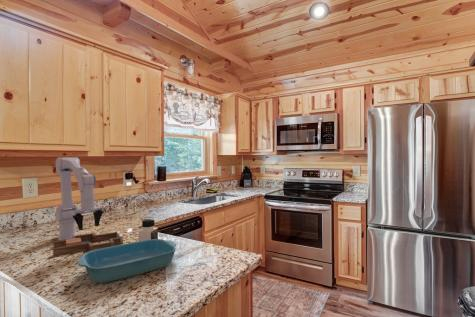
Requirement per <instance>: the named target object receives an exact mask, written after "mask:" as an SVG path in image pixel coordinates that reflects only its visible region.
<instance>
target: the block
mask: <svg viewBox="0 0 475 317" xmlns="http://www.w3.org/2000/svg"><path fill="white" fill-rule="evenodd" d="M76 244H81V238H75V239H69V240H68V239H66V246H70V245H76Z"/></svg>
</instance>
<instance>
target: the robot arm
mask: <svg viewBox="0 0 475 317" xmlns="http://www.w3.org/2000/svg"><path fill="white" fill-rule="evenodd" d="M80 164H81V161H80V158H78V157H77V156H75V157H71V156H70V157H65V156H64V157H60V156H58V157H57V158H56V160H55V172H56V173H57V174H59V178H60V179H59V180H60V195H61V204H60V205H59V206H57V207H56V209H55V214H54V216H55V221H56V222H57V223H59V225H58V227H59V228H58V229H59V230H58V231H59V235H58V241H61V240H68V239H72V236H77V234H76V224H77V228H78V230H79V231H83V230H84V221H83V220H84V215H83V214H89V213H92V214H93V218H94V226H95V227H99V226H100V221H101V219H102V216H103V214H104V210H105V207H104V206H95V201H96V200H95V185H96V183H97V179H96V176H95V174H94V173H90V172H88V171H87V170H86V168H85V167H83V166H82V167H81V165H80ZM72 174H73V176H74V178H75V179H76V180H77V185H78V190H79V191H80V193H79V194H80V209H78V208H79V207H78V205H77V204H75V203H73V192H72V176H71V175H72Z"/></svg>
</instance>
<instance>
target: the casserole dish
mask: <svg viewBox="0 0 475 317" xmlns="http://www.w3.org/2000/svg"><path fill="white" fill-rule="evenodd" d="M176 246H177V243H175V242H174V241H172V240H168V239H167V240H166V239H162V238H158V239H150V240H144V241H135V242H129V243H124V244H123V243H121V244H116V245H114V246H112V247H107V248H102V249H97V250H93V251H90V252H89V251H88V252H85V253H84V254H83V255H82V256H81V257H80V258H78V259H77V261H76V264H77V266H79V267H81V268H85V270H86V272H87V275H88V276H89V278H90V279H91V280H92V281H94V282H95V283H99V284H104V283H103V282H105V283H110V281H111V282H114V280H115V281H118V279H119V280H121V279H122V278H123V279H127V278H131V277H133V275H134V276H137V275H141V273H142V274H145V273H144V272H146V273H149V272H152V270H153V271H156V270H159V268H160V269H162V267H163V268H166V266H168V265H170V264H171V263H172V260H173V258H174V255H175V253H176ZM155 269H156V270H155ZM148 271H149V272H148ZM130 276H131V277H130ZM126 277H127V278H126ZM123 279H122V280H123Z"/></svg>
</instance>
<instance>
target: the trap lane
mask: <svg viewBox="0 0 475 317" xmlns="http://www.w3.org/2000/svg"><path fill="white" fill-rule="evenodd" d="M75 238H81V244H76V245H70V246H66V240H69V239H66V240H60V241H59V240H55V241H53V242H52V243H53V246H52V247H53V249H52V256H60V255H66V254H71V253H76V252H77V253H78V252H82V251H87V250H88V252H90V251H93V250H97V249H102V248H107V247H112V246H117V245H122V244H123V243H124V235H123V234H122V233H121V232H120V231H119V230H116V231H115V232H114V231H113V232H107V233H106V232H105V233H100V234H96V232H90V233H84V234H76V236H72V239H75ZM107 240H108V241H107ZM100 241H101V243H96V242H100ZM102 241H107V242H102ZM93 243H96V244H93Z"/></svg>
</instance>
